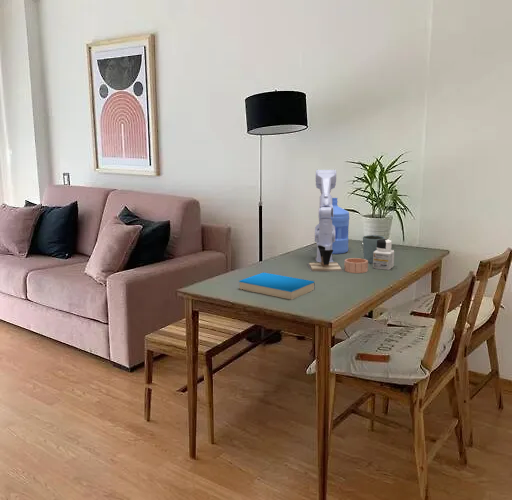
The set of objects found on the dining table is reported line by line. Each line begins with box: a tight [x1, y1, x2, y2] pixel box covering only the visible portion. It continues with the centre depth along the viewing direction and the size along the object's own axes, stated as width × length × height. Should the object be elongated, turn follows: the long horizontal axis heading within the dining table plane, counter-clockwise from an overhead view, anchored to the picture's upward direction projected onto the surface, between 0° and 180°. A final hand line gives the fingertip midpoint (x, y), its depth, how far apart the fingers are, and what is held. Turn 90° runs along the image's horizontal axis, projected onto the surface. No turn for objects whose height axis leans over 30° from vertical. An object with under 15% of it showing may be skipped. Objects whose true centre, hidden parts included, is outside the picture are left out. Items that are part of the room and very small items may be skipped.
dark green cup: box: [362, 234, 386, 264], centre depth 254 cm, size 10×10×12 cm
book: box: [238, 272, 316, 300], centre depth 210 cm, size 17×4×25 cm
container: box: [372, 238, 395, 271], centre depth 243 cm, size 8×8×13 cm
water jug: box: [320, 197, 350, 255], centre depth 277 cm, size 16×16×28 cm
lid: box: [308, 256, 343, 272], centre depth 242 cm, size 13×13×5 cm
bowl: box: [343, 257, 369, 274], centre depth 236 cm, size 10×10×5 cm
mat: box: [306, 262, 345, 273], centre depth 242 cm, size 15×15×1 cm
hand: (324, 262), depth 242 cm, fingers open, 7 cm apart
